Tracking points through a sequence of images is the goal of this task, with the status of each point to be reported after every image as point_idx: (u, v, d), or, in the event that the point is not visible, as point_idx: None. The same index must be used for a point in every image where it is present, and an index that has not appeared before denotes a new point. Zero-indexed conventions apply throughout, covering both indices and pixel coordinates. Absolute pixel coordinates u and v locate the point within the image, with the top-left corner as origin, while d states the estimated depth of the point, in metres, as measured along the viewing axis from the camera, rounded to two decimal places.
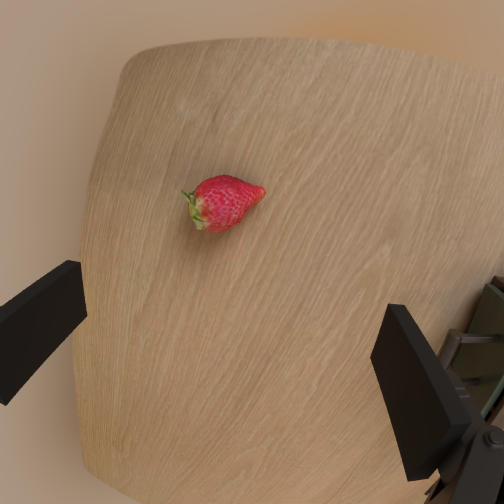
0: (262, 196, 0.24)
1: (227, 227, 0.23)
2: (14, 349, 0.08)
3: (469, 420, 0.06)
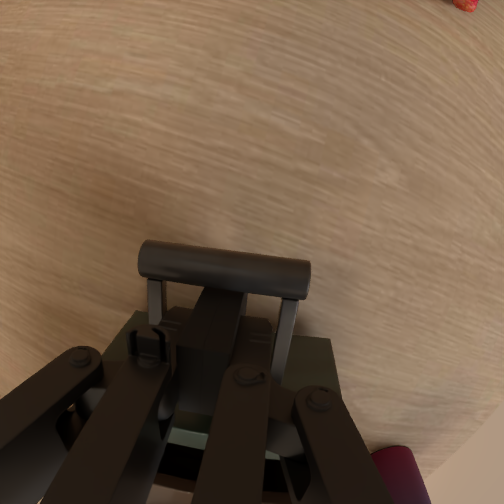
0: (467, 5, 0.10)
1: None
2: None
3: (226, 352, 0.08)
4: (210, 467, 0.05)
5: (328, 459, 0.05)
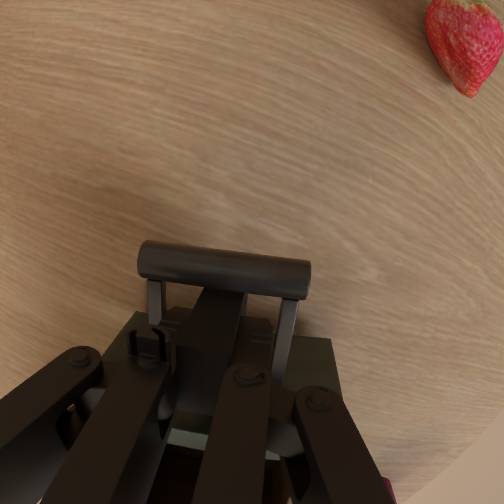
0: (468, 91, 0.12)
1: (453, 31, 0.09)
2: None
3: (226, 352, 0.08)
4: (210, 467, 0.05)
5: (328, 459, 0.05)
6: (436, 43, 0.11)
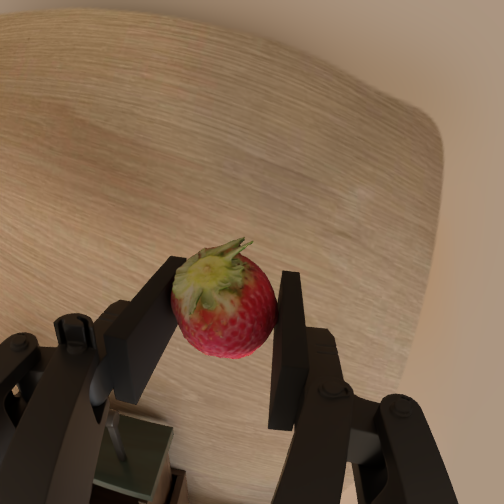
0: None
1: (183, 332, 0.12)
2: (146, 345, 0.10)
3: (306, 367, 0.08)
4: (290, 480, 0.05)
5: (407, 463, 0.05)
6: None
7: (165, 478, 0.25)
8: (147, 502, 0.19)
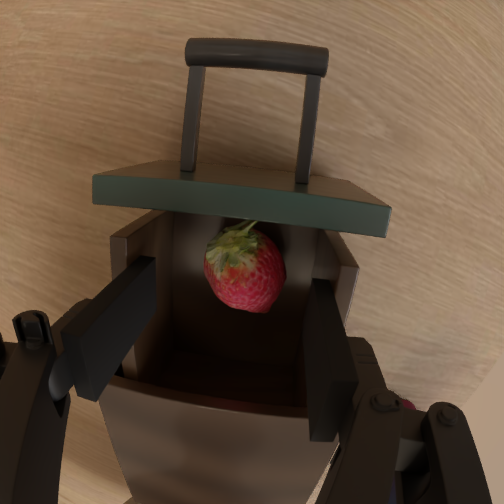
0: (258, 311, 0.19)
1: (215, 291, 0.16)
2: (106, 343, 0.10)
3: (355, 379, 0.08)
4: (340, 489, 0.05)
5: (450, 468, 0.05)
6: None
7: None
8: None
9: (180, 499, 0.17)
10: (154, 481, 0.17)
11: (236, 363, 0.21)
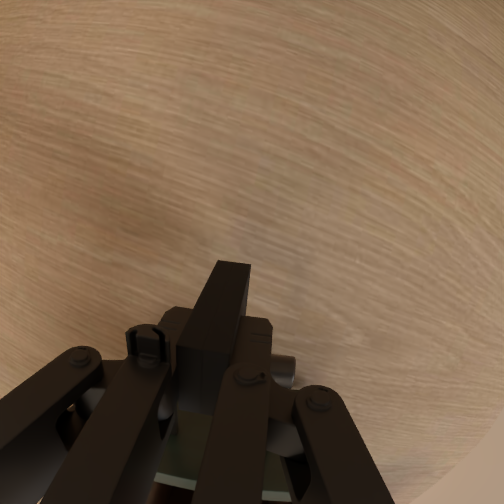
0: None
1: None
2: None
3: (226, 352, 0.08)
4: (210, 467, 0.05)
5: (328, 459, 0.05)
6: None
7: None
8: None
9: None
10: None
11: None
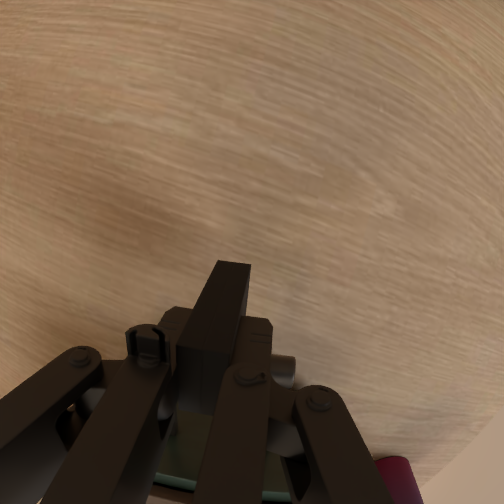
0: None
1: None
2: None
3: (226, 352, 0.08)
4: (210, 467, 0.05)
5: (328, 459, 0.05)
6: None
7: None
8: None
9: None
10: None
11: None
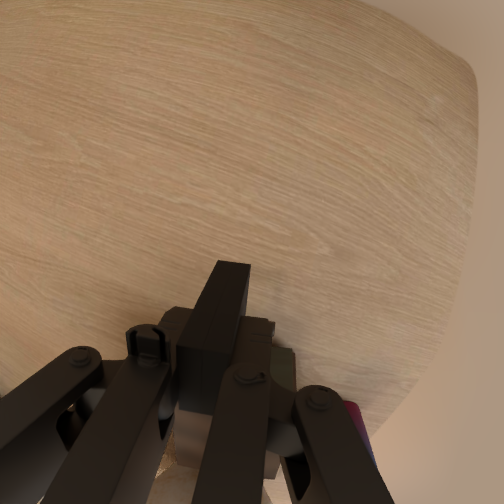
0: None
1: None
2: None
3: (226, 351, 0.08)
4: (210, 467, 0.05)
5: (328, 459, 0.05)
6: None
7: None
8: None
9: None
10: (194, 447, 0.32)
11: None
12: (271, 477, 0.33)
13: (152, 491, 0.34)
